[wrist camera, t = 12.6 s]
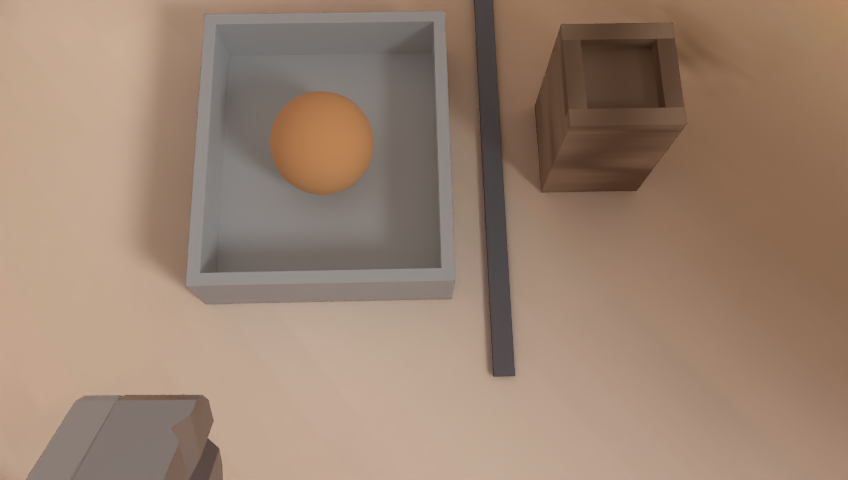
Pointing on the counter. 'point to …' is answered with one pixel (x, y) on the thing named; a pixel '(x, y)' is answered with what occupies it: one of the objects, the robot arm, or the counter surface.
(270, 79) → the tray
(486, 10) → the line
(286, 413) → the counter surface
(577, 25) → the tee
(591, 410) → the counter surface
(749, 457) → the counter surface
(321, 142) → the ball
